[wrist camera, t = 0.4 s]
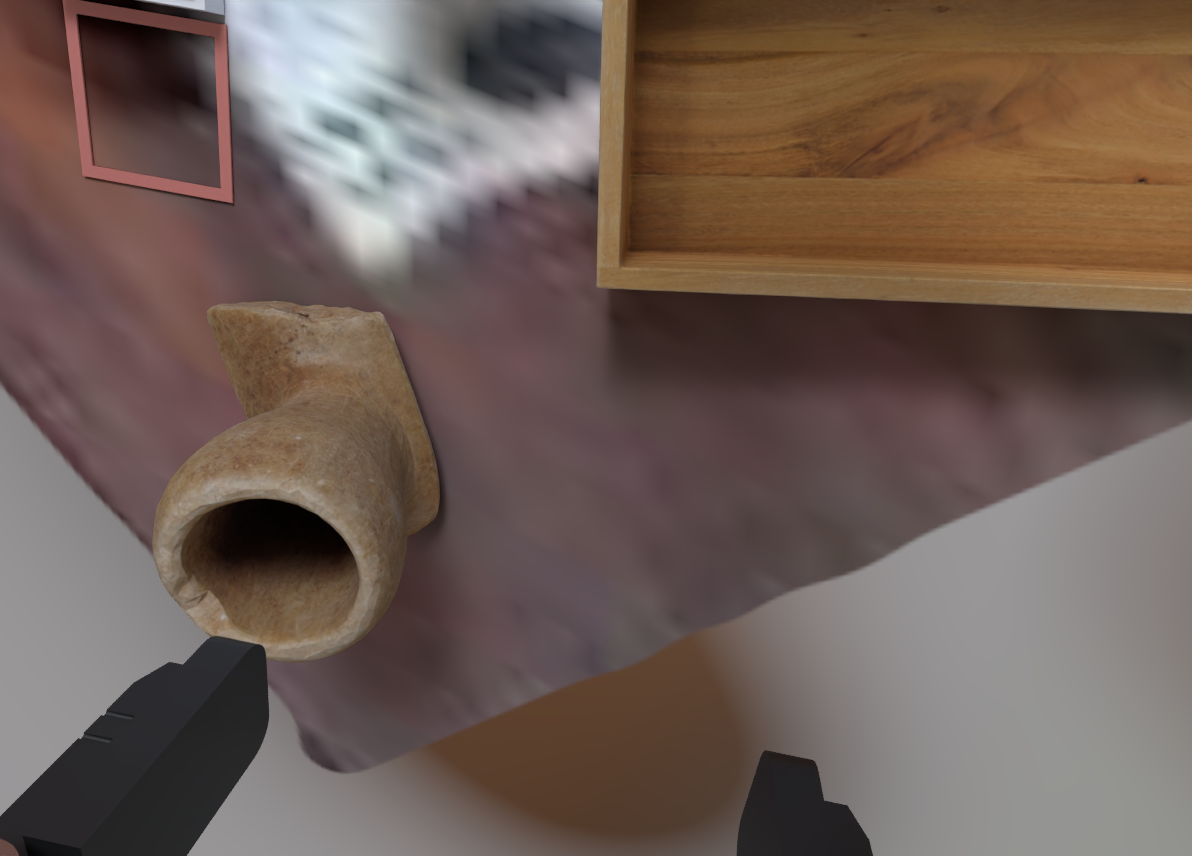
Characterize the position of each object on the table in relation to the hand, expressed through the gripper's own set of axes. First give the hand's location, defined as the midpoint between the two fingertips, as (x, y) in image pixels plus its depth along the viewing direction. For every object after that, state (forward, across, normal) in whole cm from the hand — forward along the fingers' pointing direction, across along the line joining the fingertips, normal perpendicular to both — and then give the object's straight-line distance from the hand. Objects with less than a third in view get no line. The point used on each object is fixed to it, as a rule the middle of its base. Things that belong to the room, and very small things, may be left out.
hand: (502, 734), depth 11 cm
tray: (+29, -13, -11) cm, 34 cm away
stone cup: (+28, +14, +8) cm, 33 cm away
